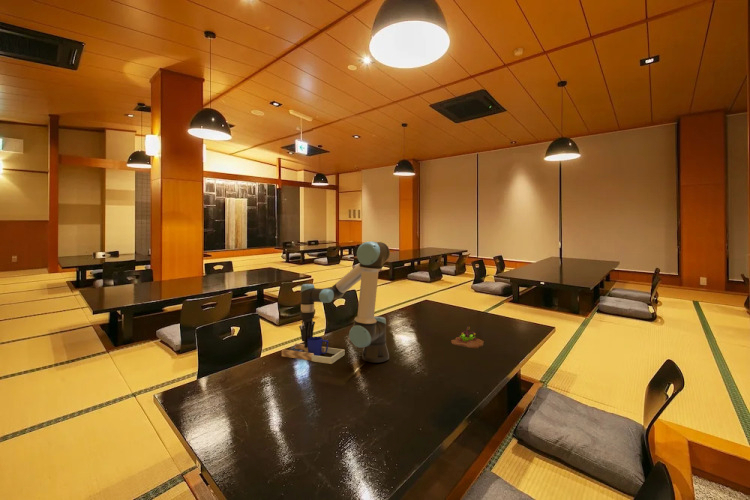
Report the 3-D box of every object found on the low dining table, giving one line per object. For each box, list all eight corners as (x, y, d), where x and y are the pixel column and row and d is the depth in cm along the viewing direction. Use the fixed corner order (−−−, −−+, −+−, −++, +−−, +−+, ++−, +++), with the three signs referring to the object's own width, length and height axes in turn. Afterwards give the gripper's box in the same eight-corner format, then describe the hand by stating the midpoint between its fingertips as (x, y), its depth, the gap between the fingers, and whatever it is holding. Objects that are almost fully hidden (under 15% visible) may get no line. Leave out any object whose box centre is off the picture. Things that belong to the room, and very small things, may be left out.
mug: (325, 359, 176) (325, 341, 176) (304, 358, 178) (304, 340, 178) (330, 354, 184) (330, 337, 184) (310, 353, 186) (310, 336, 186)
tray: (344, 354, 184) (344, 349, 184) (331, 363, 169) (331, 358, 169) (326, 352, 188) (326, 347, 188) (311, 361, 173) (311, 355, 173)
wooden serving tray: (325, 352, 187) (325, 346, 187) (312, 360, 174) (312, 354, 174) (296, 349, 195) (296, 343, 195) (281, 356, 181) (281, 350, 181)
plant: (487, 343, 208) (487, 326, 208) (478, 351, 192) (478, 332, 192) (457, 339, 219) (457, 322, 220) (446, 345, 203) (446, 328, 203)
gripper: (308, 308, 191) (307, 348, 191) (295, 312, 179) (294, 355, 179) (319, 309, 189) (318, 350, 188) (306, 313, 176) (306, 357, 176)
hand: (307, 352), depth 184 cm, fingers closed, pressing on mug
